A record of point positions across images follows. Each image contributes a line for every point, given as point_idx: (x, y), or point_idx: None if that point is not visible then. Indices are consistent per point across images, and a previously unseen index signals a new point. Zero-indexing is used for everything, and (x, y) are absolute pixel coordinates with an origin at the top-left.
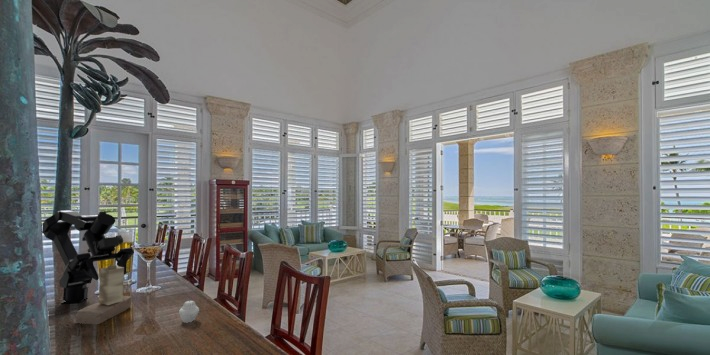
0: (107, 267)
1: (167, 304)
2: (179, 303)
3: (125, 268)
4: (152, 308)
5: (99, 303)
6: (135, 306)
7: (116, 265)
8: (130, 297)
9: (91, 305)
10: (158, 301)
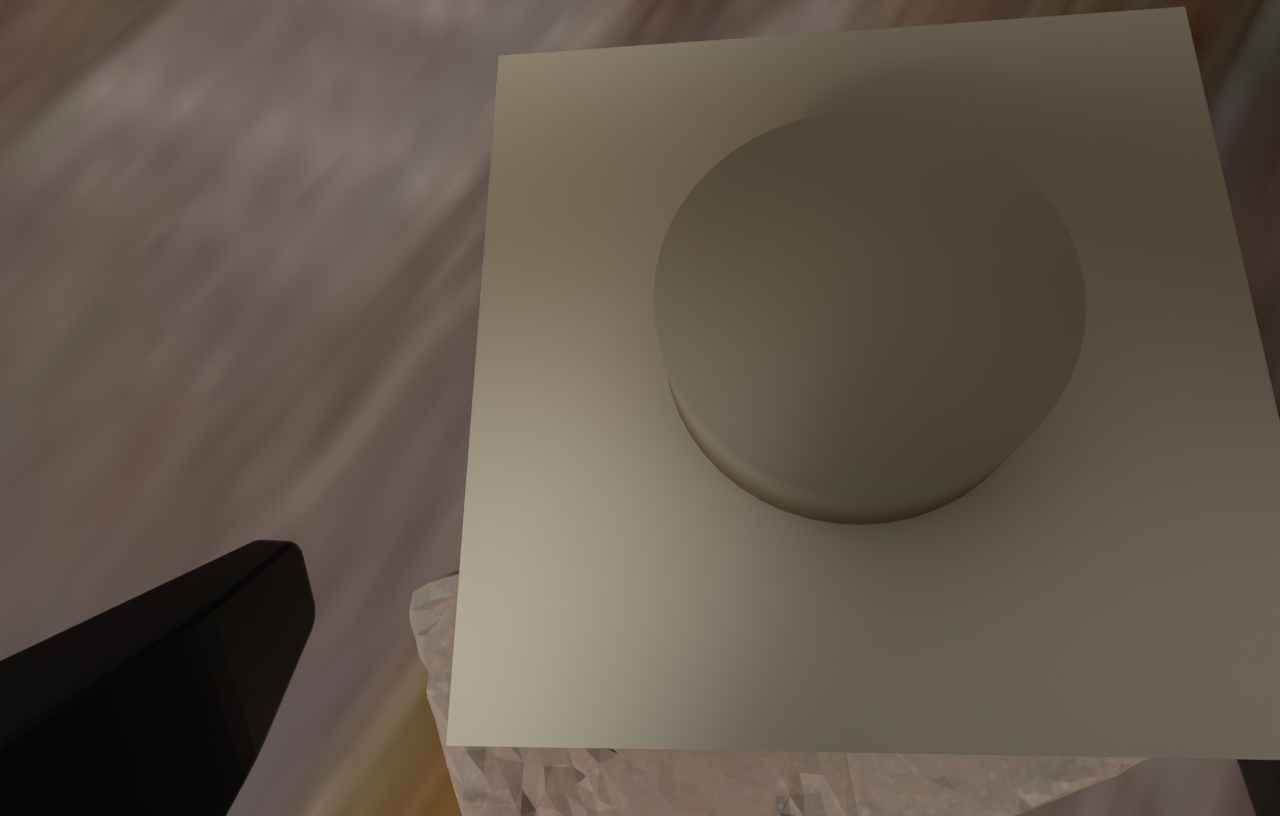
0: (938, 674)
1: (201, 311)
2: (126, 226)
3: (130, 626)
4: (382, 332)
5: (894, 754)
6: (410, 601)
7: (702, 178)
8: (439, 578)
9: (1037, 768)
10: (137, 518)
